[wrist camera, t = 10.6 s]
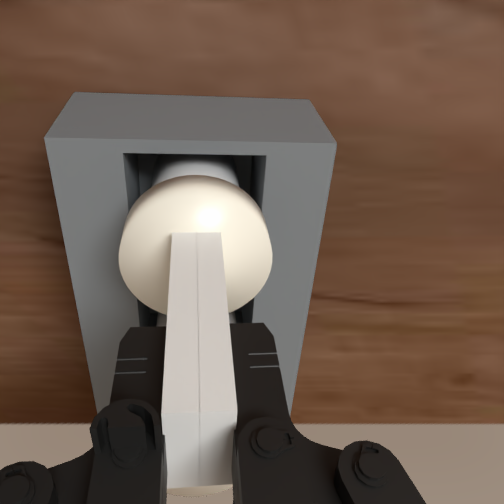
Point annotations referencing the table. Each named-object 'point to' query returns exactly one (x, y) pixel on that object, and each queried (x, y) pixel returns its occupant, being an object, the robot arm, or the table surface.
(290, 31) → the table surface
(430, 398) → the table surface
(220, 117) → the grey slotted rack
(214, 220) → the knob
